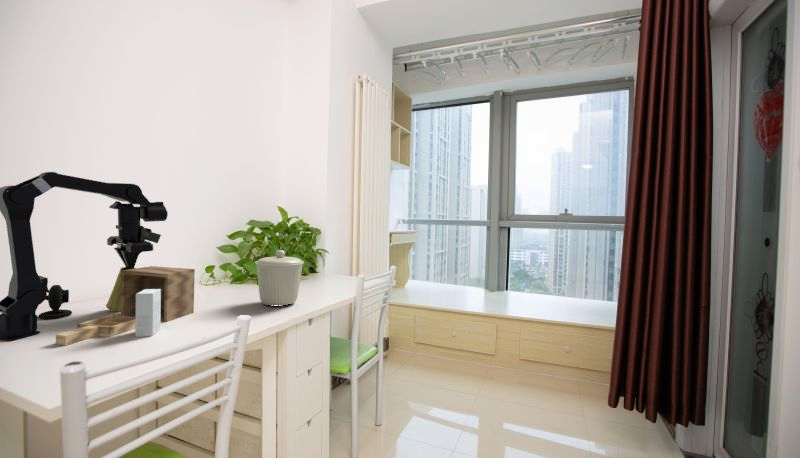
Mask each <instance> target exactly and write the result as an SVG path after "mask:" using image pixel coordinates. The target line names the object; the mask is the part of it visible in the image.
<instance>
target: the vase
mask: <svg viewBox="0 0 800 458" xmlns="http://www.w3.org/2000/svg"><path fill="white" fill-rule="evenodd" d="M135 268H136V267H134V269H135ZM122 270H129V269H127V268H126V266H122V267H121V268H120V269H119V273H118V275H117V277H116V280H115V282H114V286H113V288H112V291H111V293H110V296H109V298H108V300H107V302H106V305H105V306H106V307H105V308H106V309H108V310H109V311H112V312H121V271H122Z"/></svg>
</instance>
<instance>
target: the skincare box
mask: <svg viewBox="0 0 800 458" xmlns="http://www.w3.org/2000/svg"><path fill="white" fill-rule="evenodd" d="M135 317H136V326H135V329H134V330H135V337H136V338H143V337H153V336H154V335H156V333H157V332H158V331H160V330H161V289H144V290H143V291H141V292H139V293H137V294H136V314H135Z"/></svg>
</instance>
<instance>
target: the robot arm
mask: <svg viewBox="0 0 800 458" xmlns="http://www.w3.org/2000/svg"><path fill="white" fill-rule="evenodd" d="M53 188H60V189H66V190H71V191H79V192H83V193H91V194H96V195H101V196H103V197H107V198H110V199H113V200H115V201H114V202H113V203H112V204H111V205H109V209H113V210H117V223H118V224H116V225H115V229H117V232H118V235H114V236H109V237H108V238H107V239H106V240H107V241H106V243H107V245H108V246H114V245H116V247H114V248H113V249H114V250H115V251H116V253H117V254H118V256H119V258H120V259H121V261H122V264H124V267H126V268H127V269H134V268H135V266H136V263H137V260H138V257H139V255H141V253H143V252H144V253H145V252H153V251H154V244H158V243H159V241H160V238H161V236H162V234H160V233H156V232H153V231H152V228H147V227H144V225H141V220H143V221H144V222H145V223H146V222H147V223H148V222H149V223H151V222H152V223H153V222H165V221H166V220H167V218H168V213H169V212H168V210H167V208H166V206H165V205H164V202H163V201H154V202H151V201H150V200H149V199H148V198H147V197H146V196H145V195H144V194H143V190H142V189H141V187H140V186H139V185H138V184H135V183H124V182H123V183H121V182H119V183H118V182H105V181H100V180H93V179H88V178H84V177H83V178H82V177H77V176H72V175H66V174H61V173H58V172H56V171H46V172H42V173H40V174H39V175H37V176H35V177H32V178H29V179H27V180H24V181H22V182H19V183H18V184H15V185H5V186H2V187H1V186H0V213H1V214H2V216H3V219H4V220H5V223H6V231H7V237H8V239H7V240H8V246H9V252H10V262H11V269H12V270H11V271H12V276H11V278H10V280H9V283H8V284H9V285H8V291H7V295H6V296H5V297H4V298H3V299H1V300H0V341H14V340H18V339H19V340H20V339H23V338H26V337H30V336H33V335H37V334H40V333H41V331H40V330H38V314H36V312H37V309H38V307H39V306H40V305H41V304H42V303H43V302H45V301H47V300H46V297H47V295H48V294H49V293H50V291H49V290H50V289H49V287H48V282H49V281H48V277H46V276H42V275H39V274H38V271H37V269H36V259H35V252H34V243H33V235H32V227H31V217H32V215H33V211H34V209H35V200H36V198H38V197H40V196H41V195H43V194H45V193H46V192H48V191H50V190H51V189H53ZM122 202H125V203H122ZM126 202H127V203H126ZM135 205H136V206H135ZM137 205H138V206H137ZM151 242H153V243H154V244H153V243H151Z"/></svg>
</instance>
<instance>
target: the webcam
mask: <svg viewBox="0 0 800 458" xmlns="http://www.w3.org/2000/svg"><path fill="white" fill-rule="evenodd" d="M48 290H49V291H50V293H47V297H46V300H45V301H47V302H48V306H49V308H50V309H51V310H46V311H43V312H41V313H39V314H38V315H37V318H38V319H40V320H47V321H48V319H49V320H57V319H63V318H66V317H67V318H68V317H69V316H71V315H72V314H73V312H72V310H70V309H64V308H63V309H62V308H61V307H62V305H63V304H66V303H69V301H70V300H69V299H70V291H69V289H63V288H62V286H61V285H60V284H53V285H51V287H50V288H49V289H48ZM60 308H61V309H60Z"/></svg>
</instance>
